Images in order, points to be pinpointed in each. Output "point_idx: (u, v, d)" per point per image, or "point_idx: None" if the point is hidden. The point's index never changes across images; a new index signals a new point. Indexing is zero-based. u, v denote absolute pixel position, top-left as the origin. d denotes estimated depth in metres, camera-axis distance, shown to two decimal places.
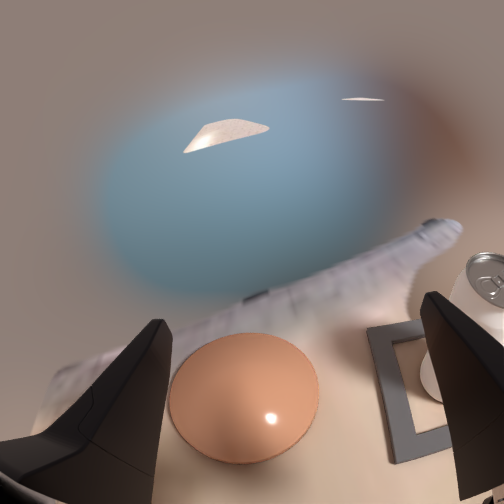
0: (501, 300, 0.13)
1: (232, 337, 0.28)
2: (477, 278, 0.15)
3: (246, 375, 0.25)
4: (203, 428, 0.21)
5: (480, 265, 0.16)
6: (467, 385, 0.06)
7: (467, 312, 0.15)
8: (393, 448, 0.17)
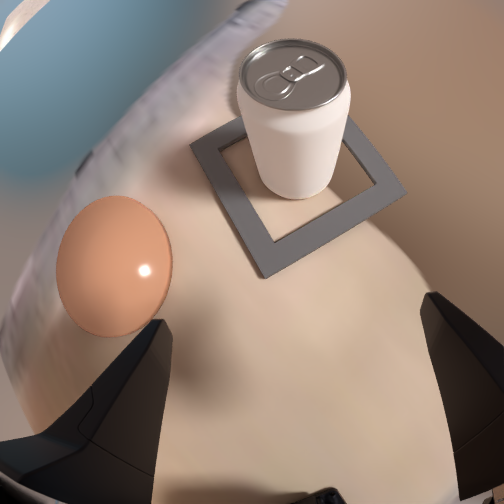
0: (295, 99, 0.13)
1: (77, 217, 0.26)
2: (257, 79, 0.14)
3: (101, 248, 0.25)
4: (96, 315, 0.24)
5: (264, 59, 0.14)
6: (467, 385, 0.06)
7: (254, 121, 0.14)
8: None
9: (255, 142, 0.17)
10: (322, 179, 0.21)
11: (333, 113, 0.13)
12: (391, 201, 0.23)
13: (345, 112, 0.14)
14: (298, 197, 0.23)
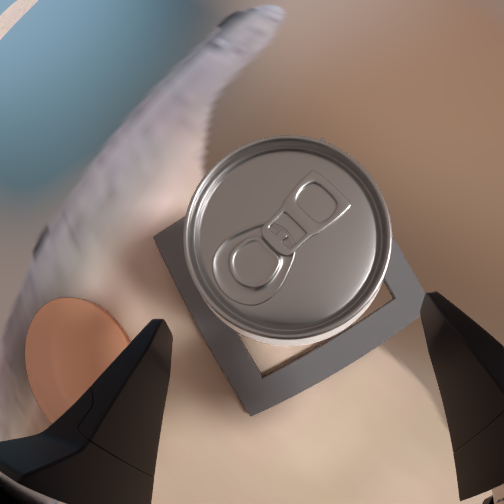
0: (288, 302, 0.08)
1: (37, 315, 0.20)
2: (219, 246, 0.08)
3: (66, 358, 0.19)
4: None
5: (233, 190, 0.08)
6: (467, 385, 0.06)
7: (217, 316, 0.09)
8: (240, 398, 0.18)
9: None
10: None
11: (355, 315, 0.08)
12: (411, 321, 0.17)
13: (375, 295, 0.09)
14: None
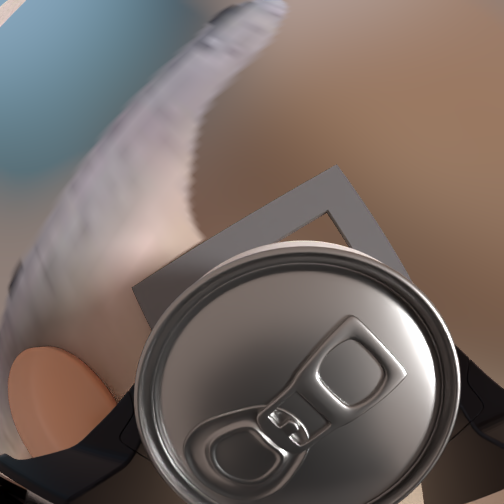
0: (294, 500, 0.04)
1: (16, 362, 0.17)
2: (191, 431, 0.04)
3: (49, 410, 0.16)
4: None
5: (208, 346, 0.05)
6: None
7: None
8: None
9: None
10: None
11: None
12: None
13: None
14: None
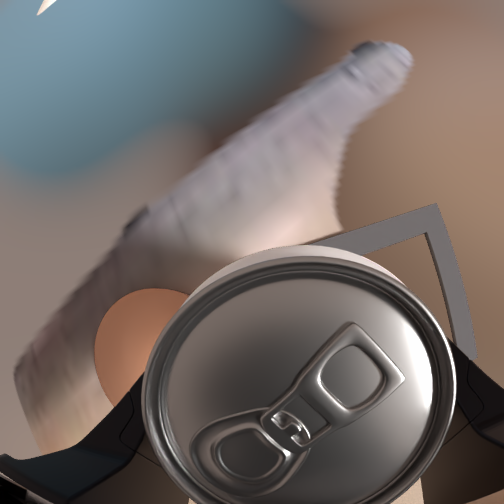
0: (295, 497, 0.04)
1: (125, 299, 0.23)
2: (198, 432, 0.05)
3: None
4: None
5: (213, 351, 0.05)
6: None
7: None
8: None
9: None
10: None
11: None
12: None
13: None
14: None
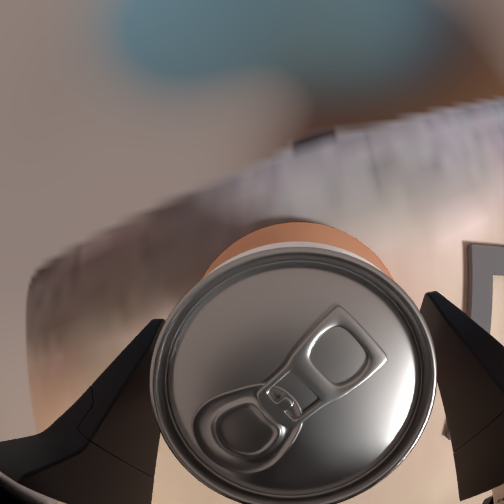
0: (290, 474, 0.05)
1: (282, 228, 0.18)
2: (199, 407, 0.05)
3: None
4: None
5: (216, 331, 0.06)
6: (467, 385, 0.06)
7: None
8: None
9: None
10: None
11: None
12: None
13: None
14: None
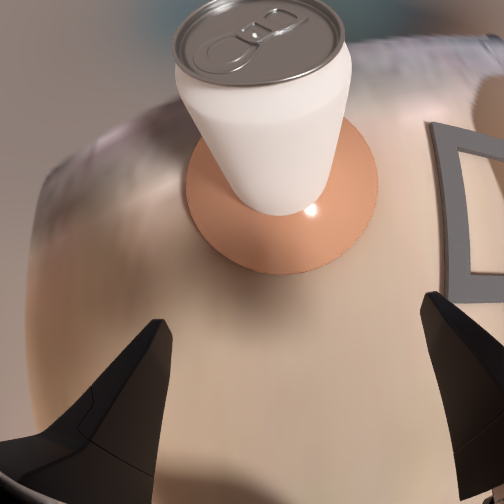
0: (257, 68, 0.07)
1: None
2: (200, 44, 0.08)
3: None
4: (232, 226, 0.19)
5: (215, 18, 0.08)
6: (467, 385, 0.06)
7: (195, 109, 0.09)
8: (446, 283, 0.17)
9: (208, 142, 0.11)
10: (312, 190, 0.15)
11: (323, 91, 0.08)
12: None
13: (343, 91, 0.08)
14: (280, 213, 0.18)
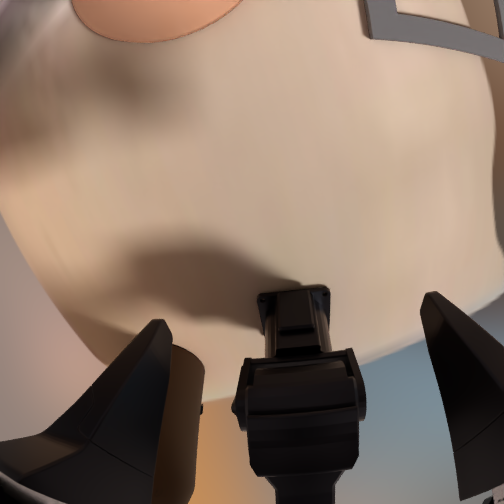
0: None
1: None
2: None
3: None
4: (122, 14, 0.12)
5: None
6: (467, 385, 0.06)
7: None
8: (368, 19, 0.13)
9: None
10: None
11: None
12: None
13: None
14: None
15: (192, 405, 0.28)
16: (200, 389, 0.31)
